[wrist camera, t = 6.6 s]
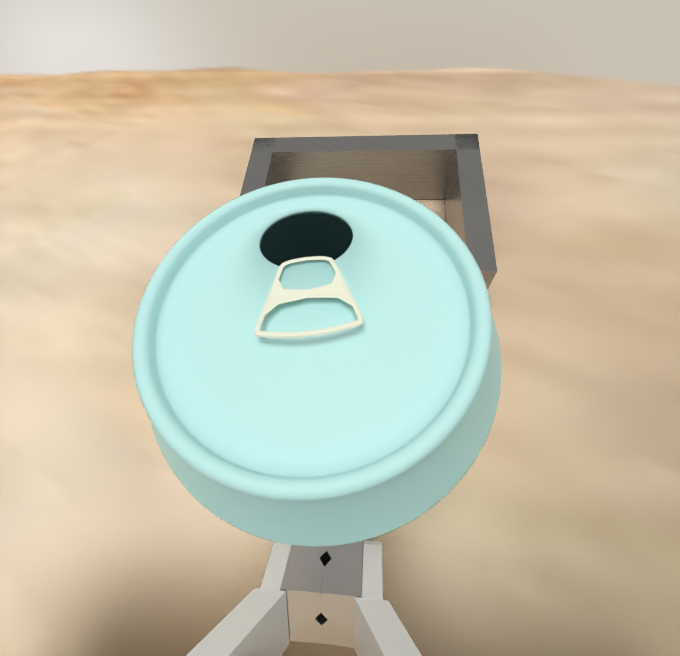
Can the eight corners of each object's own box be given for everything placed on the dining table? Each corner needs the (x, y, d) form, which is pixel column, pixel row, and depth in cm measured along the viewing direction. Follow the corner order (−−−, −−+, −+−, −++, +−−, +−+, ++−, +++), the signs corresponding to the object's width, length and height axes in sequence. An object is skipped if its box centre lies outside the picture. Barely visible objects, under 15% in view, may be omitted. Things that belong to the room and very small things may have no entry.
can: (241, 430, 17) (20, 298, 6) (351, 335, 19) (327, 104, 8) (342, 564, 14) (260, 732, 4) (459, 439, 16) (640, 302, 5)
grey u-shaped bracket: (476, 310, 19) (497, 271, 16) (244, 304, 20) (221, 266, 17) (462, 185, 23) (477, 133, 20) (269, 186, 24) (255, 138, 21)
